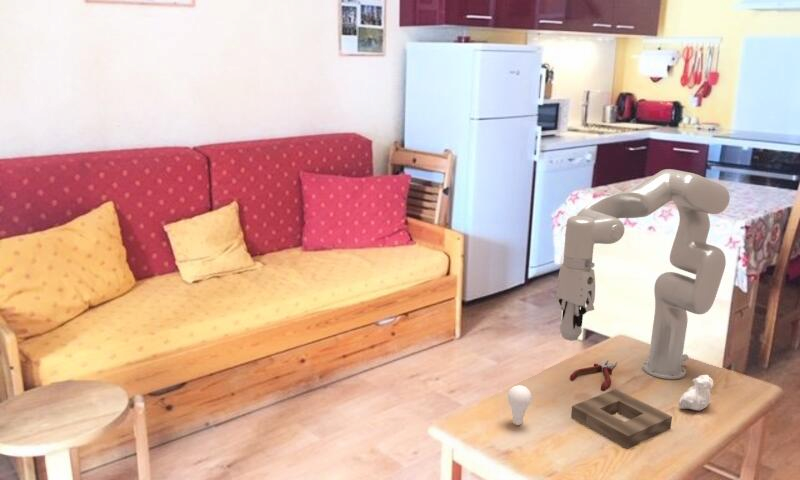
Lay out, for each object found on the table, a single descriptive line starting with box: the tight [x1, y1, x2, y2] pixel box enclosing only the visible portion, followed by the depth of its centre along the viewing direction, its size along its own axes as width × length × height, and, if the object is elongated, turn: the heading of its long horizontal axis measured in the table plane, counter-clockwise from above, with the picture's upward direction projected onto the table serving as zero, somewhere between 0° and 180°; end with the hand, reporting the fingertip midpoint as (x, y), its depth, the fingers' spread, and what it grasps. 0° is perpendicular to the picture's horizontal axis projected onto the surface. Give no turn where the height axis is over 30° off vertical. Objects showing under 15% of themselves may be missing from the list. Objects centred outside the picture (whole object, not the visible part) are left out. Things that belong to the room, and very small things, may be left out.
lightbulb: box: [507, 384, 533, 426], centre depth 177 cm, size 6×6×11 cm
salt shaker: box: [559, 299, 583, 342], centre depth 187 cm, size 6×6×13 cm
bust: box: [678, 374, 714, 412], centre depth 188 cm, size 12×8×11 cm
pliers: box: [569, 359, 618, 392], centre depth 209 cm, size 12×20×3 cm, turn 142°
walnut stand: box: [570, 388, 673, 450], centre depth 180 cm, size 18×18×4 cm
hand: (571, 325), depth 188 cm, fingers closed on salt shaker, 3 cm apart
